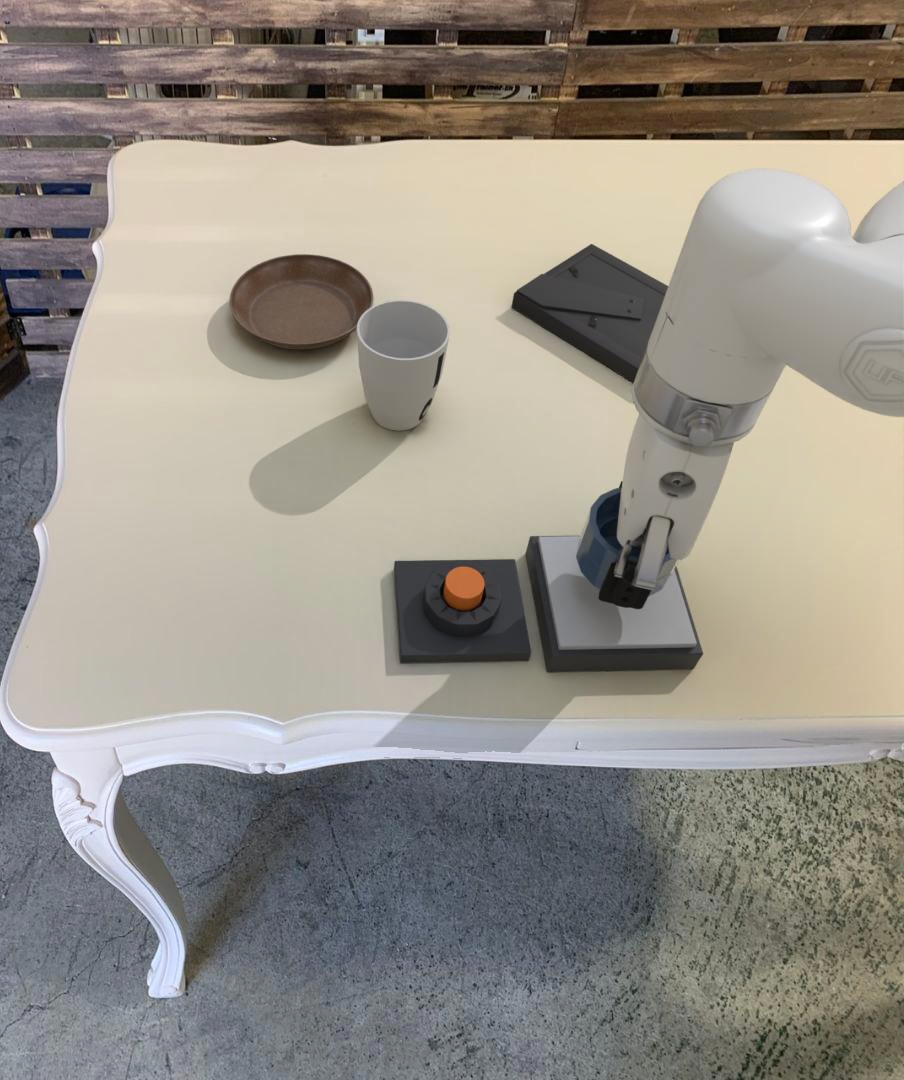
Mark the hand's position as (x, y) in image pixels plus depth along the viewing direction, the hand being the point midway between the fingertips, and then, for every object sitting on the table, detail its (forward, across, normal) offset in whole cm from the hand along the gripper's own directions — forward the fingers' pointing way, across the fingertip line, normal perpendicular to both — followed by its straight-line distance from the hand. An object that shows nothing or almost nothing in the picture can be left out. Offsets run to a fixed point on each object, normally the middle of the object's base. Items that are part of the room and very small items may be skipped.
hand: (624, 559), depth 68 cm
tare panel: (+7, -4, +11) cm, 14 cm away
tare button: (+4, -4, +11) cm, 12 cm away
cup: (+7, +17, +21) cm, 28 cm away
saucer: (+7, +28, +34) cm, 45 cm away
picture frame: (+7, +37, +2) cm, 38 cm away
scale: (+7, 0, 0) cm, 7 cm away
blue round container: (+1, 0, 0) cm, 1 cm away
